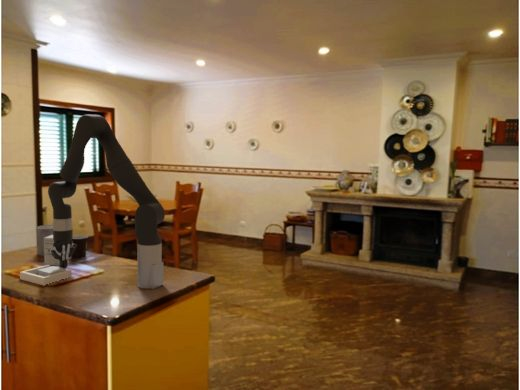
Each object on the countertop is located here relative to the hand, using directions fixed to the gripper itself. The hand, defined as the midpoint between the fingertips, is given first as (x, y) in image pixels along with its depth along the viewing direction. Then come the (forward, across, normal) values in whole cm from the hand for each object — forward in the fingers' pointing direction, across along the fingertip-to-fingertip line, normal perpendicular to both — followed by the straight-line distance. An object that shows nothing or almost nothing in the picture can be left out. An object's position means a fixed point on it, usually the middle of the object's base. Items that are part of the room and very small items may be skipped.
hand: (63, 268), depth 177 cm
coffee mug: (+3, +22, +17) cm, 28 cm away
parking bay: (+2, -9, 0) cm, 9 cm away
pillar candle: (+3, +17, +34) cm, 38 cm away
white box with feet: (+2, -6, 0) cm, 6 cm away
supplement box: (+2, +8, +16) cm, 18 cm away
